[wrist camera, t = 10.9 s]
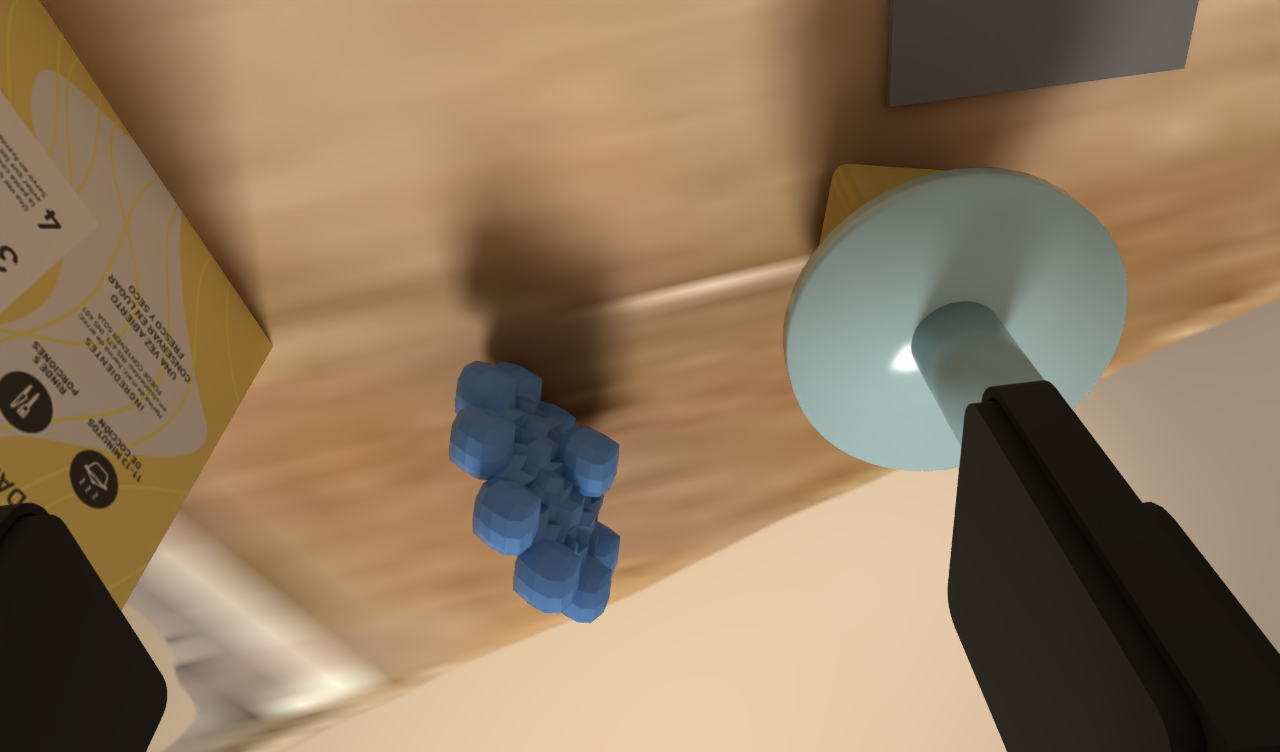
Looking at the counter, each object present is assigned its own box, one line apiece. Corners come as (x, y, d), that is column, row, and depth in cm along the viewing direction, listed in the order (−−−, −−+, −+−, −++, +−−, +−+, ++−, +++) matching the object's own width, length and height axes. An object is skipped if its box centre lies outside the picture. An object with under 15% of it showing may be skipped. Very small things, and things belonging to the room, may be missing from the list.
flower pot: (772, 304, 43) (808, 416, 35) (803, 122, 38) (854, 206, 31) (952, 312, 43) (1025, 424, 36) (1005, 134, 39) (1103, 220, 31)
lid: (776, 191, 30) (813, 276, 25) (1139, 145, 30) (1253, 221, 25) (787, 468, 37) (818, 580, 32) (1084, 433, 36) (1165, 541, 31)
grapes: (675, 450, 47) (695, 629, 37) (567, 502, 49) (559, 687, 39) (552, 282, 42) (537, 441, 32) (434, 348, 43) (385, 519, 33)
